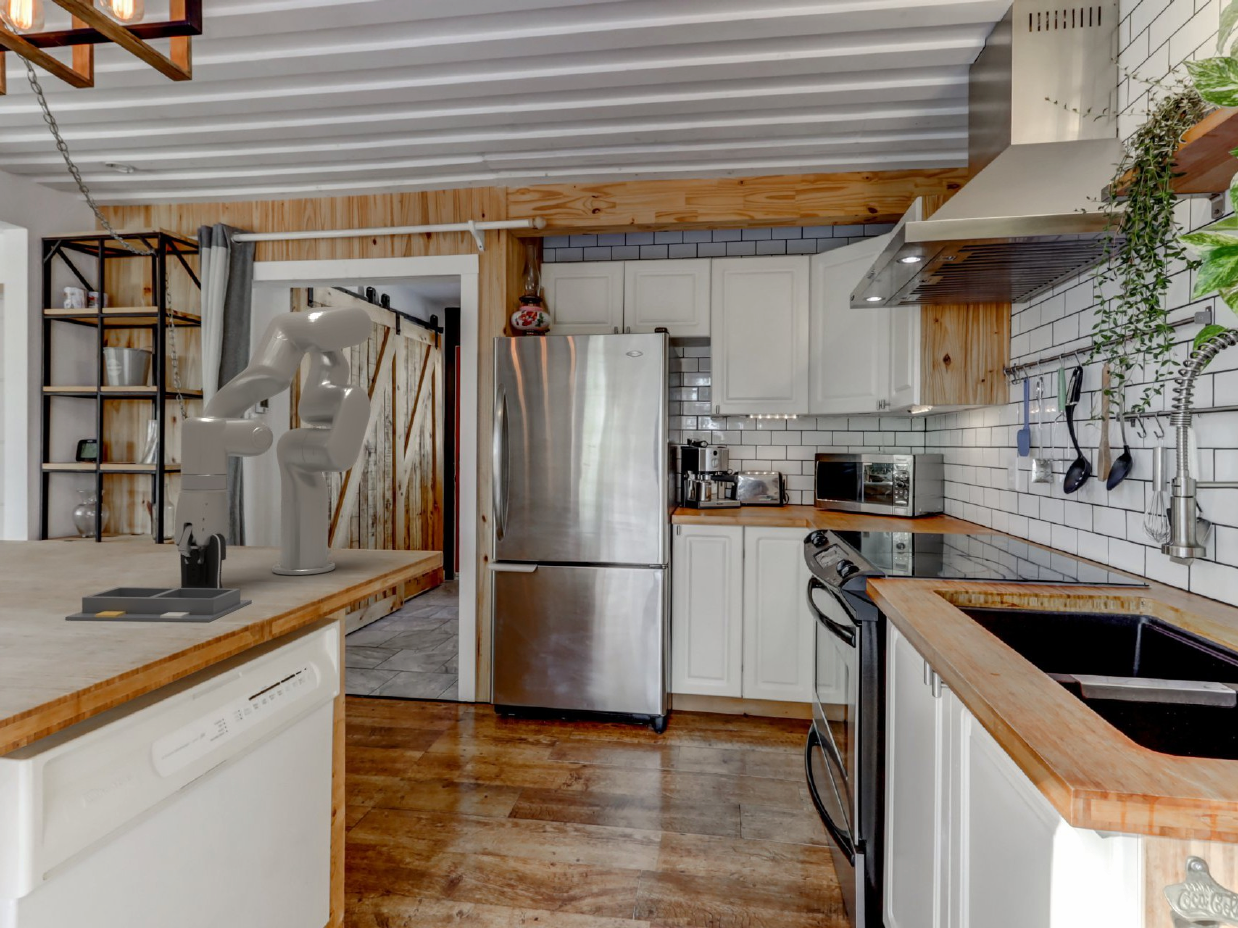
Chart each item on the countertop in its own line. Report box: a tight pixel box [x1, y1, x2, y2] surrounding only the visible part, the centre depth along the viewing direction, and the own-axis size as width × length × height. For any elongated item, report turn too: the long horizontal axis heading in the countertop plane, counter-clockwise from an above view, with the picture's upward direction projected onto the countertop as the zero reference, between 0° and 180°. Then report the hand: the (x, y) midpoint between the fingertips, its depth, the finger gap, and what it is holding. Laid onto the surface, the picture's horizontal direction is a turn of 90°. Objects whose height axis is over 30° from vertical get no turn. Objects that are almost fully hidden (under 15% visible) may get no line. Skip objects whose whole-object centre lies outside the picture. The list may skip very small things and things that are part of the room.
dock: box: [64, 586, 253, 623], centre depth 111 cm, size 13×22×3 cm, turn 92°
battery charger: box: [179, 533, 227, 589], centre depth 124 cm, size 7×4×11 cm, turn 89°
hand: (203, 581), depth 124 cm, fingers closed on battery charger, 3 cm apart
